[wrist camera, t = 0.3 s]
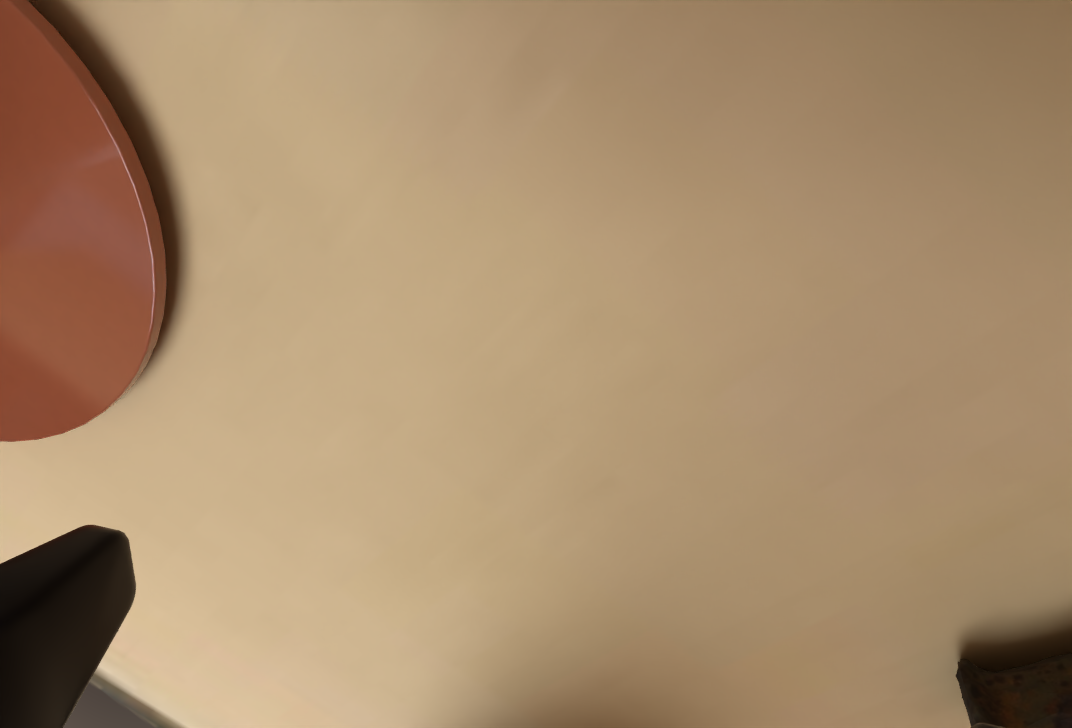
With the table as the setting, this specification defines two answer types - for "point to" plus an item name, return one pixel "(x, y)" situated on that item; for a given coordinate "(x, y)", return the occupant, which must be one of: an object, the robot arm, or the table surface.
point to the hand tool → (1019, 694)
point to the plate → (68, 239)
